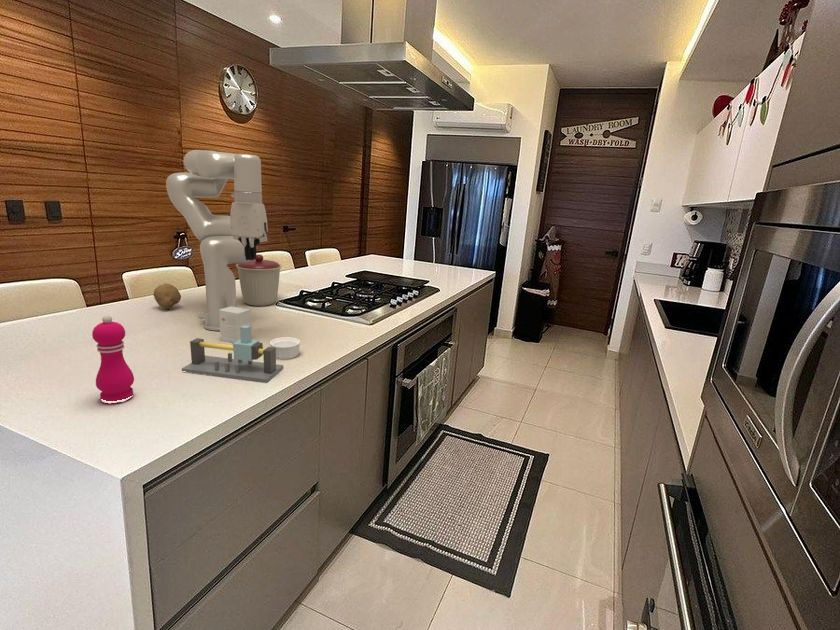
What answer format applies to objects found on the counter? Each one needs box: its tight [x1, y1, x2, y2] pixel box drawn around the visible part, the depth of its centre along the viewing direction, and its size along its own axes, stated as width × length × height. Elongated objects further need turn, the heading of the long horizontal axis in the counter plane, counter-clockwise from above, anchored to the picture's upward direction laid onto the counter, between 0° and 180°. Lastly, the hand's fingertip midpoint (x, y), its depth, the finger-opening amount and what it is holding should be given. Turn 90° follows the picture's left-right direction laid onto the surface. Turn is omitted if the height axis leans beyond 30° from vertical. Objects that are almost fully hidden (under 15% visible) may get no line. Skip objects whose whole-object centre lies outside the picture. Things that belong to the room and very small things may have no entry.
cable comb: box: [181, 337, 284, 384], centre depth 119 cm, size 24×10×8 cm, turn 82°
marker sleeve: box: [232, 325, 260, 361], centre depth 117 cm, size 5×4×9 cm
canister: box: [235, 253, 282, 307], centre depth 184 cm, size 18×18×21 cm
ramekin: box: [269, 336, 301, 360], centre depth 133 cm, size 9×9×4 cm
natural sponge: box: [153, 283, 182, 310], centre depth 169 cm, size 9×9×10 cm
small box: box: [219, 306, 253, 344], centre depth 141 cm, size 8×6×10 cm
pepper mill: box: [91, 315, 135, 401], centre depth 98 cm, size 7×7×20 cm
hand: (250, 259), depth 134 cm, fingers closed
